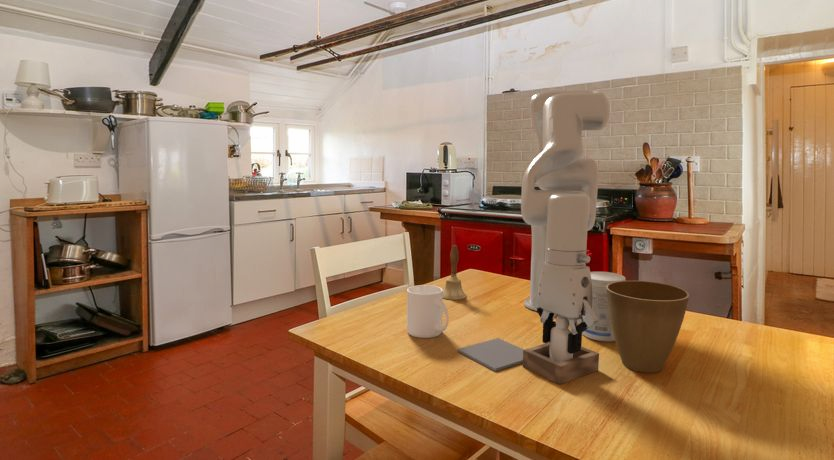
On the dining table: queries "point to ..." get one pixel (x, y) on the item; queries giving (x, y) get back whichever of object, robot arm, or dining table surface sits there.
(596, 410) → the dining table surface
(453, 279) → the hand bell
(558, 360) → the eye dropper bottle
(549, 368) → the box
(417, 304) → the mug
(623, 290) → the plant pot
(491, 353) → the coaster
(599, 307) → the supplement tub
